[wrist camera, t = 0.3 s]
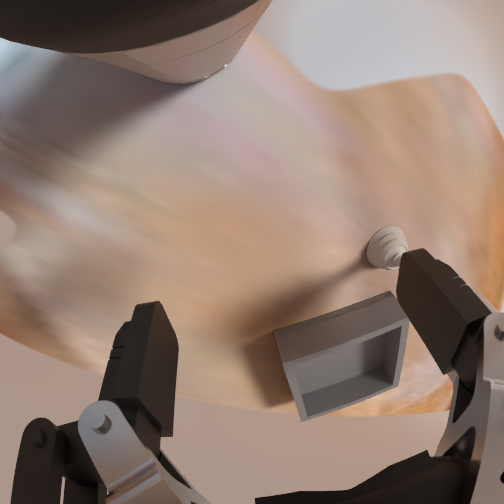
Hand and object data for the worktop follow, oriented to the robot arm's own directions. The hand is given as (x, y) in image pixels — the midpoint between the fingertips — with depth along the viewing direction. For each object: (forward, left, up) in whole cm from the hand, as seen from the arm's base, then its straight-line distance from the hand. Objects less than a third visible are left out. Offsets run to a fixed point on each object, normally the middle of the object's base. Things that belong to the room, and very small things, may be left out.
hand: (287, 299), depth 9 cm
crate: (+26, +6, -17) cm, 32 cm away
